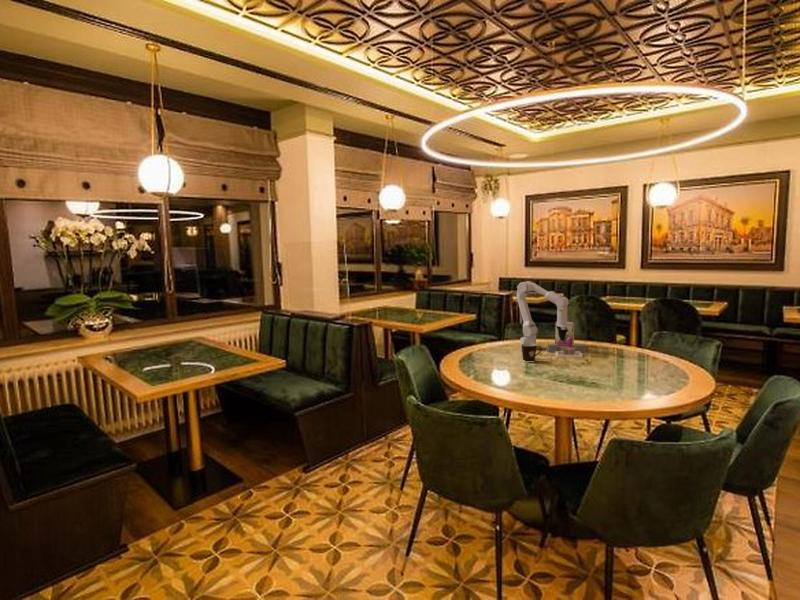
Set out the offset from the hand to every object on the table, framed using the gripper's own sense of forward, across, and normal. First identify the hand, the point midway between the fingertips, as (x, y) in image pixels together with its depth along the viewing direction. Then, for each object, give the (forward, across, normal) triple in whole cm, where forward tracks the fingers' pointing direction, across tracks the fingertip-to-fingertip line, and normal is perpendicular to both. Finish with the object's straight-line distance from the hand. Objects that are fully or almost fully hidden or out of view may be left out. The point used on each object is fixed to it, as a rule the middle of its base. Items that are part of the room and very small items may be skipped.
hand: (561, 339), depth 285 cm
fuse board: (+9, +1, -3) cm, 10 cm away
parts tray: (+9, -8, -3) cm, 13 cm away
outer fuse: (+8, +1, -11) cm, 14 cm away
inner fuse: (+8, +1, +5) cm, 10 cm away
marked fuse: (+9, -8, -3) cm, 12 cm away
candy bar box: (+10, +20, -4) cm, 22 cm away
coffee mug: (+10, -21, +19) cm, 29 cm away
